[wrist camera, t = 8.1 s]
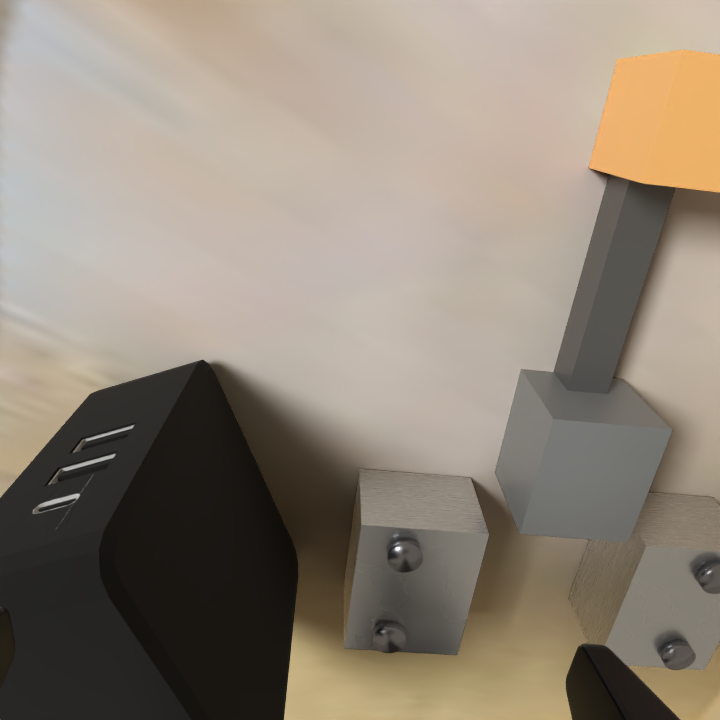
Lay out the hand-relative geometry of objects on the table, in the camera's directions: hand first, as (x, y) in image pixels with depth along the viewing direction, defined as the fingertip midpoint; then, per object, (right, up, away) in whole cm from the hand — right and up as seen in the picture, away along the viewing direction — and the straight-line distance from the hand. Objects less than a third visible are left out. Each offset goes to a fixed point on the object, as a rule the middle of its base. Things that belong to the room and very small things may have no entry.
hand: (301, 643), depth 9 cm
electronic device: (-5, 0, +13) cm, 14 cm away
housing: (+8, -3, +15) cm, 17 cm away
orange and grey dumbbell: (+9, +6, +11) cm, 15 cm away
